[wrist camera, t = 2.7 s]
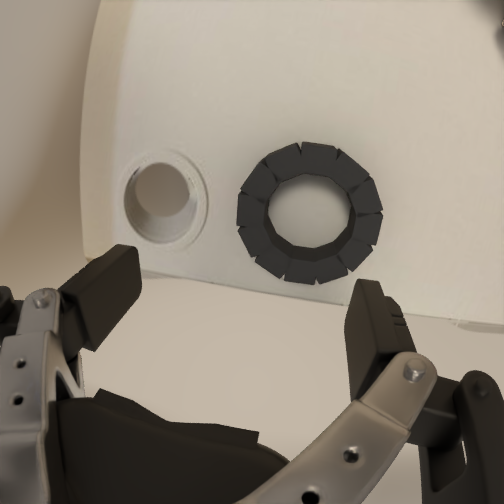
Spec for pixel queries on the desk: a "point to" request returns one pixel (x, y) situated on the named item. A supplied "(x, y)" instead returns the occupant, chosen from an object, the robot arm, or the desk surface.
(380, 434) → the robot arm
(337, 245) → the dark grey segmented ring
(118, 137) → the desk surface
